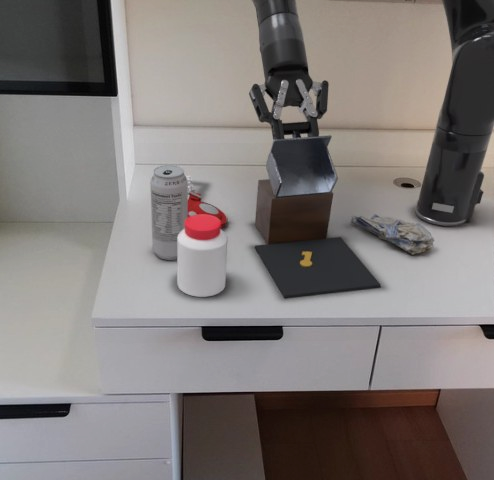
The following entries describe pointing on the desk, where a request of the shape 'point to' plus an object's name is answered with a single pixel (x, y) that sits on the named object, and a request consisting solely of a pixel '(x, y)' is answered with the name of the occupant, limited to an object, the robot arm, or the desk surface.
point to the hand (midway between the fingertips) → (297, 142)
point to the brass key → (306, 259)
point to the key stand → (291, 215)
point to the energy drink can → (168, 209)
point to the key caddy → (300, 163)
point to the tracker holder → (203, 208)
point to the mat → (315, 267)
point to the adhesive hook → (190, 184)
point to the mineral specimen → (397, 232)
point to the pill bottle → (201, 256)
